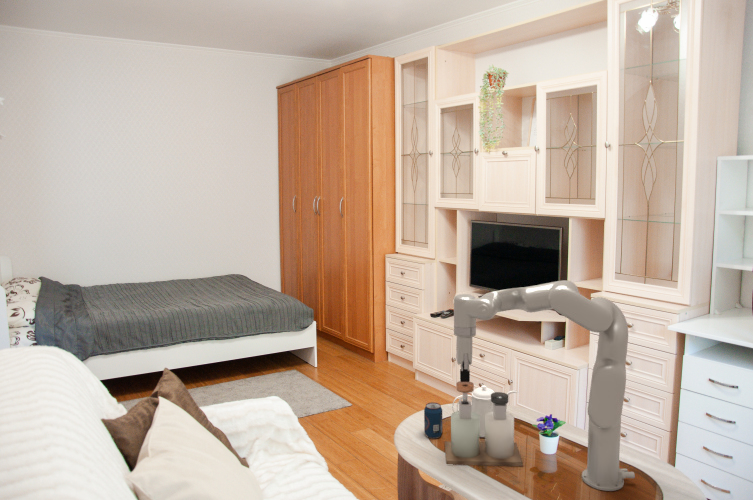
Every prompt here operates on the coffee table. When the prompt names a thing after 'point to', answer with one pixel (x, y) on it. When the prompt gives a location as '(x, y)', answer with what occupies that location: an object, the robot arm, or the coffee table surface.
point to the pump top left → (499, 398)
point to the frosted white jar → (499, 433)
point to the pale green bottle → (465, 432)
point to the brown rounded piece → (465, 389)
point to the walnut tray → (482, 457)
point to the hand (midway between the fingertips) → (464, 380)
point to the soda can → (433, 420)
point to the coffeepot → (481, 405)
